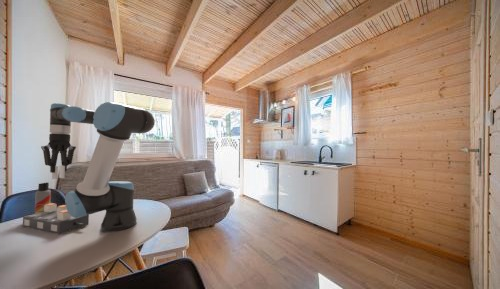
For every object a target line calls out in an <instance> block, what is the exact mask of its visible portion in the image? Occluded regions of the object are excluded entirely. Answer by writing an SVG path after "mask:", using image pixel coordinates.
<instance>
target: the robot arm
mask: <svg viewBox="0 0 500 289" xmlns="http://www.w3.org/2000/svg"><path fill="white" fill-rule="evenodd" d="M49 112H50V114H49V135H48V136H49V137H48V138H49V139H48V140H49V142H48V144H46V145H41V146H40V148H41V149H42V153H43V159H44V165H45V166H49V168H50V170H49V171H50V173H51V179H52V180H58V179H65V177H66V176H65V175H66V174H65V173H66V172H67V170H68V166H69V165H71V164H72V163H73V159H74V155H75V154H74V153H75V150H76V148H77V147H76V146H74V145H72V144H71V135H70V134H71V131H72V130H71V127H72V123H78V124H87V125H88V124H89V125H93V127H94V128H95V129H96V132H97V134H98V135H99V137H98V139H97V142H96V145H95V148H94V151H93V153H92V157H91V159H90V162H89V165H88V167H87V170H86V173H85V175H84V178H83V181H81V182H79V183H77V185H76V187H75V189H74V190H70V191H68V192H66V194H65V199H64V202H65V204H64V205H66V208H67V210H68V212H69V214H70V215H71V216H72V217H82V216H86V215H89V216H90V215H92V214H96V213H99V212H103V211H105V214H104V216H103V219H102V222H101V224H100V230H101V232H108V233H112V232H118V231H123V230H127V229H130V228H131V227H133V226H134V225H136V224H137V215H136V213H135V210H134V195H135V194H134V193H135V192H134V191H135V186H134V185H135V184H134V183H133V182H132V181H127V180H125V181H123V180H118V181H117V180H114V181H110V178H111V177H112V174H113V171H114V168H115V166H116V163H117V160H118V158H119V155H120V152H121V151H122V148H123V145H124V142H125V141H128V140H130V138H131V135H132V134H145V133H148V132H151V131H152V130H153V128H154V126H155V122H156V121H155V118H154V116H153V114H152V113H151V112H149V111H148V110H146V109H144V108H139V107H136V106H131V105H127V104H123V103H121V102H112V101H105V102H103V103H101V104H100V105H98V107H97V108H96V109H95V110H91V109H85V108H81V107H79V106H74V105H73V106H71V105H68V104H64V103H51V105H50V109H49ZM50 149H51V152H50ZM59 154H60V164H61V165H59V166H57V162H58V156H59Z"/></svg>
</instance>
